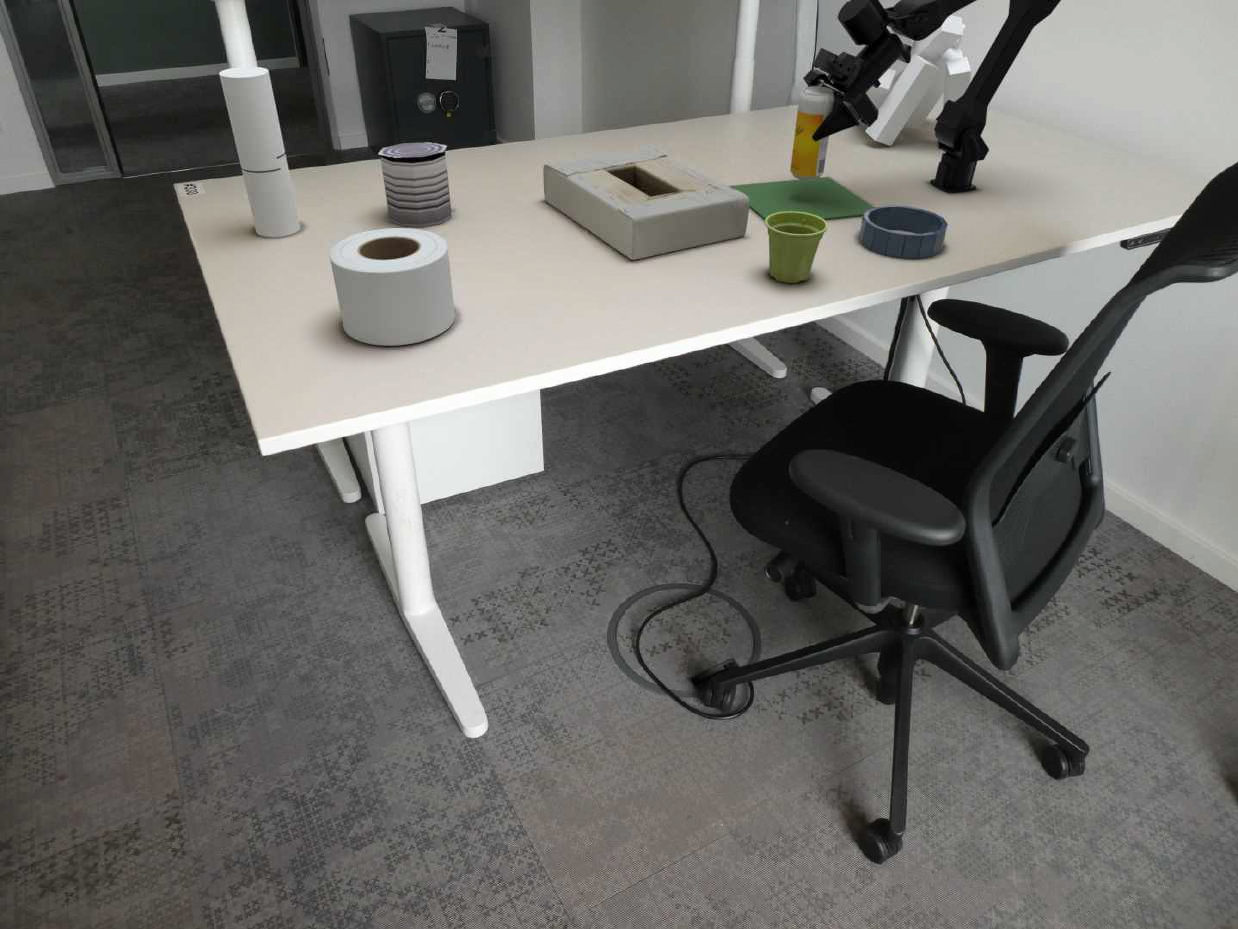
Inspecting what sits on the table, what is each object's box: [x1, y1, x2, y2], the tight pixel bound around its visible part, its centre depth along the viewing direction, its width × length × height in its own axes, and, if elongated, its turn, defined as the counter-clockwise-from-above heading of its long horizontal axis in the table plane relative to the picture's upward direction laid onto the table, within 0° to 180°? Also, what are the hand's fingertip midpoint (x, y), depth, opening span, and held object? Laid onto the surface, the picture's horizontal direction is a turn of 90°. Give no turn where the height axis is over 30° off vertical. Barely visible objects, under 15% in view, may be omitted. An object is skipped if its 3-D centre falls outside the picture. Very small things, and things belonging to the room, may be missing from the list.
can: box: [377, 141, 452, 228], centre depth 152 cm, size 11×11×12 cm
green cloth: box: [728, 176, 875, 221], centre depth 165 cm, size 22×20×1 cm
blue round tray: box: [858, 204, 949, 260], centre depth 149 cm, size 14×14×4 cm
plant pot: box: [764, 211, 829, 284], centre depth 135 cm, size 9×9×9 cm
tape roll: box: [329, 227, 456, 347], centre depth 120 cm, size 16×15×11 cm
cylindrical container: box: [218, 66, 301, 238], centre depth 142 cm, size 7×7×25 cm
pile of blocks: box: [850, 14, 972, 147], centre depth 195 cm, size 35×30×35 cm
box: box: [542, 145, 750, 261], centre depth 155 cm, size 23×8×32 cm
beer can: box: [790, 86, 834, 180], centre depth 158 cm, size 6×6×15 cm
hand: (805, 134), depth 158 cm, fingers closed on beer can, 6 cm apart
